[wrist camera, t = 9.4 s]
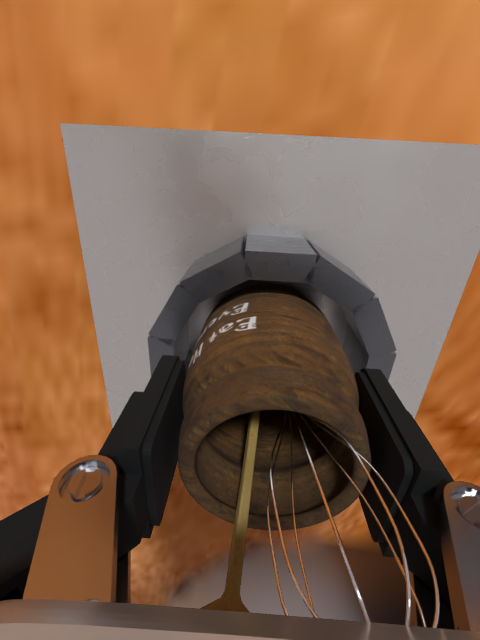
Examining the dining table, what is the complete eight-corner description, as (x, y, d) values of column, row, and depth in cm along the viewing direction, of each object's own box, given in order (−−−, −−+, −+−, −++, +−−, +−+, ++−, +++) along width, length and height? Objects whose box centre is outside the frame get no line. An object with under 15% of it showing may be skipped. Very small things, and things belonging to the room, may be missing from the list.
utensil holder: (356, 312, 13) (775, 889, 3) (287, 411, 16) (355, 907, 5) (233, 255, 13) (101, 757, 2) (181, 370, 15) (-1, 858, 4)
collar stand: (80, 128, 13) (0, 107, 9) (490, 149, 13) (602, 137, 9) (125, 430, 20) (92, 494, 16) (385, 449, 20) (418, 520, 16)
